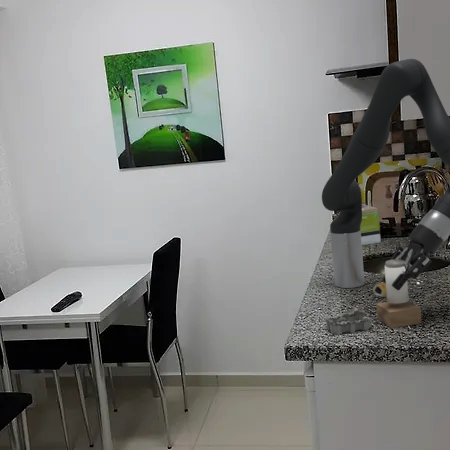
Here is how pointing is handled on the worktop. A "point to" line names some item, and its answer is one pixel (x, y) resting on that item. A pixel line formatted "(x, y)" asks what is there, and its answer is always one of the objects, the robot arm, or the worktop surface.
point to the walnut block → (398, 314)
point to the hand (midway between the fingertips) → (390, 285)
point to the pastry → (380, 290)
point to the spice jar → (391, 273)
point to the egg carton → (349, 321)
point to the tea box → (370, 225)
